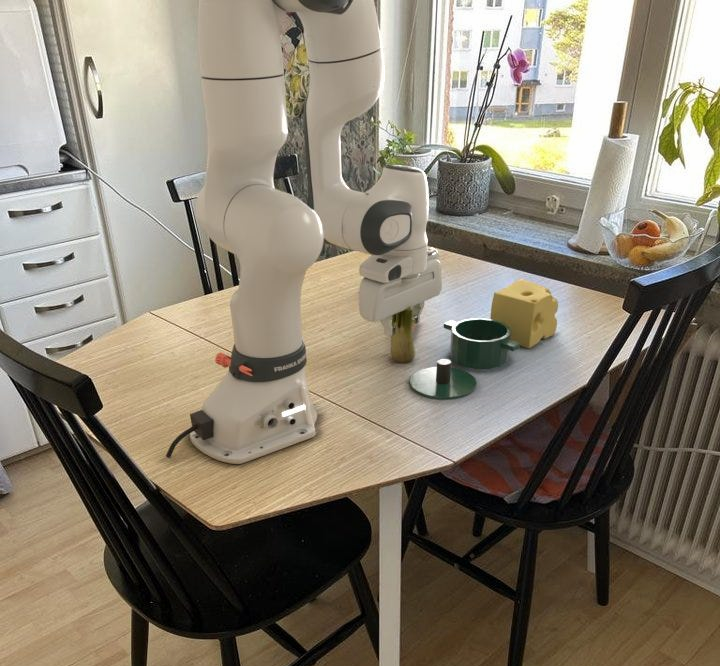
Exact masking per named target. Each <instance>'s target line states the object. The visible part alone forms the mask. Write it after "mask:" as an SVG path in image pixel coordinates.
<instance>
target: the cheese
mask: <svg viewBox="0 0 720 666" xmlns="http://www.w3.org/2000/svg"><path fill="white" fill-rule="evenodd" d="M558 310H559V301H558V299H557V298H555V297H554V296H553V295H552V292H551V290H550V289H549V288H548V287H546V286H543V285H541V284H538V283H535V282H533V281H529V280H525V279H521V278H519V279H517V280H515V281H514V282H512V283H511V284H509V285H508V286H506V287H504V288H502V289H499V290H497V291H495V292H494V293H493V296H492V302H491V307H490V317H489V319H493V320H496V321H500V322H503V323H504V324H506V325H507V326H509V327H510V330H511V340H513V341H516V342H519V343H521V344H520V347H523V348H526V349H531V348H533V346H535V345H536V346H537V344H539V343H540V341H541V339H542V340H543V339H544V340H545V339H548V338H550V337H552V336H554V335H555V334H556V331H557V328H558V318H556V314H557V312H558Z"/></svg>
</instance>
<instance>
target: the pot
mask: <svg viewBox="0 0 720 666" xmlns="http://www.w3.org/2000/svg"><path fill="white" fill-rule="evenodd" d="M443 328H444V329H445V330H447V331H450V349H449V357H450V361H451V362H454V363H455V364H456V365H458V366H460V367H463V368H466V369H472V370H473V369H474V370H491V369H492V370H493V369H496V368H500V367H501V366H504V365H505V364H507V362H508V361H509V357H510V352H515V351H517V350H519V349H521V346H520V344H521V343H519V342H516V341H513V340H511V330H510V327H509V326H507V325H506V324H504V323H503V322H500V321H496V320H493V319H490V318H484V317H477V318H476V317H475V318H467V319H461V320H459V321H455V320H453V319H451V320H449V321H446V322H444V323H443Z"/></svg>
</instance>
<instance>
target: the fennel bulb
mask: <svg viewBox="0 0 720 666" xmlns="http://www.w3.org/2000/svg"><path fill="white" fill-rule="evenodd" d="M391 324H392V325H393V326H396V330H395V332H396V333H395V334H394V335H392V336H390V356H391V360H392V361H393V362H395V363H397V364H408V363H411V362H412V361H413V360H414V358H415V356H416V347H415V343H414V337H413V333H412V308H411V307H408V308H407V309H406V310H403V311H401V312H399V313H396V314H394V315H392V320H391Z"/></svg>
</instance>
